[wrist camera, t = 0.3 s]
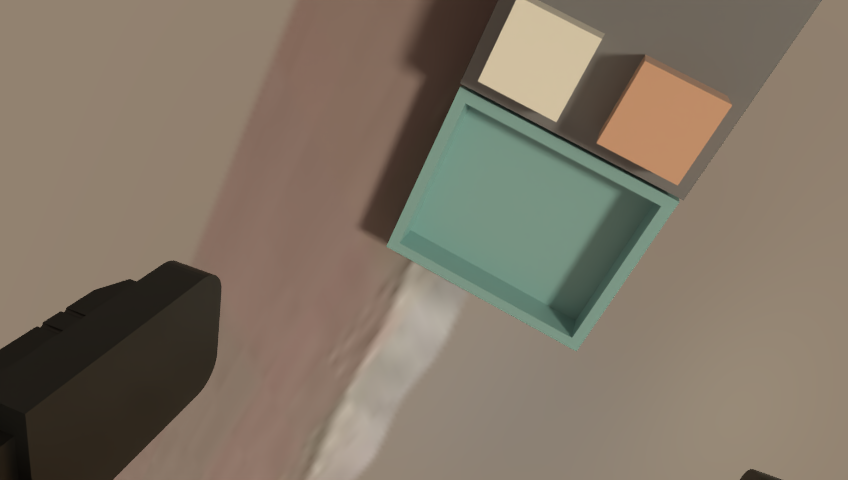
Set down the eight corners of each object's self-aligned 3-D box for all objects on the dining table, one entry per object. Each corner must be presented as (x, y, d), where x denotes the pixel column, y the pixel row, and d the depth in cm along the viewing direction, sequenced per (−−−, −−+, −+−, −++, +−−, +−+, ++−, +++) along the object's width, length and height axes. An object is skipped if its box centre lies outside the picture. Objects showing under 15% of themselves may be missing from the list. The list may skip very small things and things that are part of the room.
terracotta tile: (645, 54, 30) (645, 60, 28) (727, 95, 30) (732, 105, 28) (599, 132, 32) (596, 143, 30) (676, 172, 32) (677, 185, 30)
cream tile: (525, -7, 31) (517, -4, 29) (604, 33, 30) (602, 39, 29) (486, 74, 33) (477, 81, 31) (561, 112, 32) (556, 122, 30)
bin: (471, 78, 36) (459, 87, 34) (677, 186, 35) (679, 202, 33) (400, 230, 41) (386, 246, 38) (580, 328, 40) (576, 351, 37)
